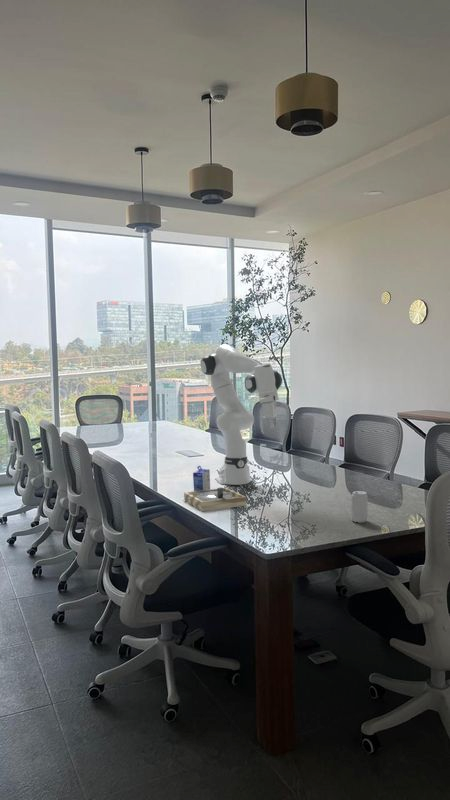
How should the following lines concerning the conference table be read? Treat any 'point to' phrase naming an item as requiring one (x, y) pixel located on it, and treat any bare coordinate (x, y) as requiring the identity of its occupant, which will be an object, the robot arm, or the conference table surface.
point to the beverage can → (359, 506)
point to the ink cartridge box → (201, 479)
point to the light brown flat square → (215, 504)
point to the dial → (214, 495)
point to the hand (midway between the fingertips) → (273, 427)
